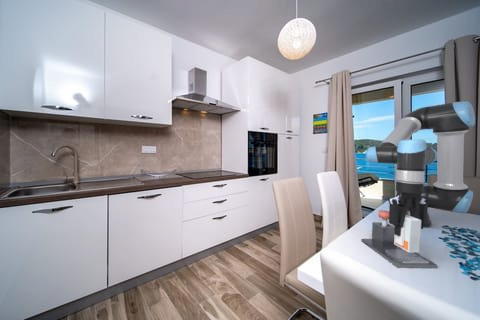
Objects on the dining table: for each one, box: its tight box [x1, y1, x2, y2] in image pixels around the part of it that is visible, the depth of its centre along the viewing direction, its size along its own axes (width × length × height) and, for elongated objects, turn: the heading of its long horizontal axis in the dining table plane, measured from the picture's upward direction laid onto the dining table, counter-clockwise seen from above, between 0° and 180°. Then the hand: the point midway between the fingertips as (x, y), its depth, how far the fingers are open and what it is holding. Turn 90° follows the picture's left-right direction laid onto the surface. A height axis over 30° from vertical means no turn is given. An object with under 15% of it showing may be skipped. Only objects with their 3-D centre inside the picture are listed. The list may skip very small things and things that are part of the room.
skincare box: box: [394, 215, 422, 253], centre depth 68 cm, size 6×4×12 cm
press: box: [360, 221, 438, 269], centre depth 73 cm, size 14×19×9 cm
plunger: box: [378, 209, 389, 226], centre depth 79 cm, size 4×4×10 cm
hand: (406, 243), depth 68 cm, fingers closed on skincare box, 4 cm apart
